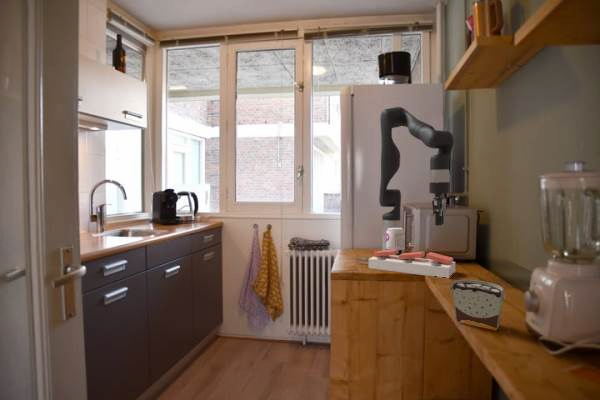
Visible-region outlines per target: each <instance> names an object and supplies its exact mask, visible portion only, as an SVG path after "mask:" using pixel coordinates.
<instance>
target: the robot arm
mask: <svg viewBox="0 0 600 400" xmlns="http://www.w3.org/2000/svg"><path fill="white" fill-rule="evenodd" d="M379 117H380V120H379V122H380V137H381V139H380V140H381V148H380V151H381V152H380V153H381V154H380V185H379V194H378V195H379V197H378V200H379V205H380V207H383V208H393V209H392V210H390V211H389V212H386V213H384V214H382V220H381V221H382V222H381V223H382V224H381V225H382V229H381V231H382V232H381V233H382V235H381V237H382V244H381V246H382V250H381V251H383V250H386V231H387V229H388V228H402V227H401V220H402V219H401V205H402V193H401V190H400V189H399V188H396V189H395V188H394V189H393V188H392V189H391V188H390V189H388V185H389V183H390V181H391V180H392V178H394V176H395V175H396V173H398V170H399V169H400V166H401V152H400V150H399V148H398V147H397V145H396V143H395V142H394V140H393V133H392V132H393V129H394V128H400V127H405V128H407V129H408V132H409V134H410V135H411V136H412V137H414V138H415V139H417V140H419V141H421V142H422V144H424V145H425V146H426V147H427V148H430V149H436V150H437V149H438V151H437V153H436V154H433V155H432V156H431V157H430V160H429V179H428V180H429V181H428V182H429V187H428V188H429V189H428V190H429V194H433V195H434V197H433V198H432V200H431V205H432V212H433V213H432V214H433V215H434V216H435V217H434V218H435V219H434V220H435V222H434V224H435V226H437V227H438V226H442V225H444V223H445V222H444V221H445V220H444V218H445V214H446V208H447V198H446V197H445V194H450V192H451V175H450V157H451V155H452V151H453V147H454V140H455V139H454V136H453V134H452V132H451V131H448V130H438V129H435V128H434V127H433V126H432V125H430V124H429V123H426V122H424V121H421V120H420V119H418V118H416V117H415V116H414V115H412V114H411V113H410V112H409V111H408V110H407V109H405V108H404V107H401V106H395V107H390V108H389V107H388V108H385V109H383V110H382V111H381V113H380V116H379Z"/></svg>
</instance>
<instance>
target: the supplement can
mask: <svg viewBox="0 0 600 400" xmlns="http://www.w3.org/2000/svg"><path fill="white" fill-rule="evenodd" d="M395 249H398V250H399V253H398V254H395V255H391V256H399V255H401V254H403V253H405V230H404V228H402V227H401V228H388V229H387V231H386V250H395Z"/></svg>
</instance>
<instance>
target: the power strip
mask: <svg viewBox="0 0 600 400" xmlns="http://www.w3.org/2000/svg"><path fill="white" fill-rule="evenodd" d="M356 260H357V262H358V261H359V262H368V269H371V270H380V271H387V272H388V271H389V272H394V273H395V272H397V273H401V274H402V273H403V274H409V275H410V274H411V275H420V276H427V277H434V276H437V277H436V278H442V277H446V278H445V279H450V278H451V277H452V276H453V275H454V274H455V273H456V261H453V262H452V263H451V264H450V265H449V264H445V263H441V262H438V261H434V260H430V259H427V258H422V257H421V258H411V259H399V256H391V255H389V256H377V257H374V256H372V257H369V258H363V257H362V258H361V257H357V258H356ZM453 273H454V274H453ZM452 274H453V275H452ZM451 275H452V276H451ZM450 276H451V277H450ZM449 277H450V278H449Z"/></svg>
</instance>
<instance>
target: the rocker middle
mask: <svg viewBox="0 0 600 400" xmlns="http://www.w3.org/2000/svg"><path fill="white" fill-rule="evenodd" d="M423 257H426V253H425V251H417V252H416V251H414V252H404V253H403V254H401V255H399V259H411V258H421V259H422V258H423Z"/></svg>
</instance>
